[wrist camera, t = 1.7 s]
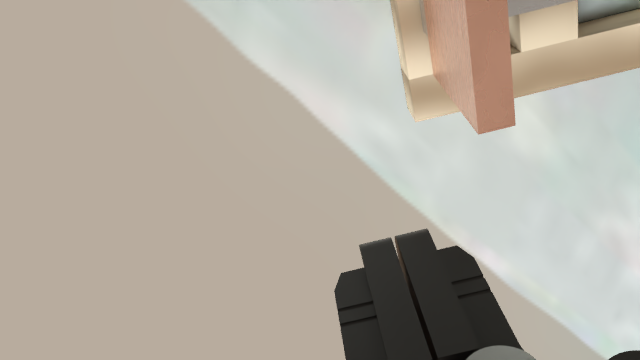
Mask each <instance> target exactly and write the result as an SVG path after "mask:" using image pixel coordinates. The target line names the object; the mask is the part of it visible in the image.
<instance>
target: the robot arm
mask: <svg viewBox="0 0 640 360" xmlns="http://www.w3.org/2000/svg"><path fill="white" fill-rule="evenodd" d="M395 243H396V248H397V253H398V256H397V253H396V250H395V247H394V245H393V242H392V239H391V238H386V239H382V240H378V241H373V242H370V243H365V244H361V245H359V247H360V251H361V255H362V259H363V264H364V268H360V269H356V270H352V271H348V272H344V273H341V275H340V277H339V280H338V283H337V285H336V288H335V291H334V292H335V298H336V303H337V309H338V315H339V321H340V326H341V333H342V339H343V345H344V351H345V356H346V360H536V359H535V358H534V357H533V356H531V355H530V354H528V353H527V352H525V351H524V350H523V349H522V348H521V346H520V344H519V343H518V341H517V339H516V337H515V335H514V333H513V331H512V329H511V327H510V326H509V324H508V322H507V320H506V318H505V316H504V314H503V312H502V310H501V308H500V306H499V305H498V303H497V301H496V299H495V297H494V295H493V293H492V292H491V290H490V287H489V285H488V284H487V282H486V280H485V278H483V274H482V272H481V270H480V268H479V266H478V264H477V262H476V261H475V259H474V257H472V256H471V255H469V254H468V253H467V252H465V251H464V250H462V249H461V248H460V247H458V246H453V247H449V248H445V249H440V250H437V249H436V247H435V244H434V242H433V240H432V237H431V235H430V233H429V231H428V230H427V229H423V230H419V231H415V232H411V233H407V234H402V235H398V236H395ZM398 258H399V259H398ZM609 360H640V351H626V352H623V353H619V354H617V355H615V356H613V357H611V358H610V359H609Z"/></svg>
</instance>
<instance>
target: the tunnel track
mask: <svg viewBox="0 0 640 360" xmlns="http://www.w3.org/2000/svg"><path fill="white" fill-rule="evenodd" d="M390 2H391V8H392V14H393V21H394V27H395V33H396V39H397V45H398V51H399V57H400V63H401V70H402V76H403V82H404V88H405V94H406V100H407V106H408V109H409V111H410V113H411V115H412V116H413V118H414V120H415V122H419V121H423V120H427V119H431V118H435V117H439V116H443V115H448V114H452V113H456V112H460V110H459V108H458V107H457V106H456V105H455V103H454V102H453V101H452V99H451V98H450V97H449V95H448V94H447V93H446V91H445V90H444V89H443V87H442V86H441V85H440V84H439V82H438V81H437V80H436V78H435V77H434V76H433V69H432V62H431V55H430V47H429V40H428V36H427V35H426V34H425V33H424V32H423V27H422V20H421V12H420V5H419V0H390ZM508 18H509V33H510V49H511V64H512V80H513V95H514V98H517V97H521V96H525V95H529V94H533V93H537V92H542V91H546V90H550V89H554V88H558V87H562V86H566V85H570V84H574V83H578V82H582V81H587V80H591V79H595V78H599V77H603V76H607V75H611V74H615V73H619V72H623V71H627V70H632V69H636V68H640V9H636V10H632V11H628V12H624V13H620V14H616V15H612V16H608V17H604V18H600V19H595V20H591V21H587V22H583V23H579V24H578V0H575V1H571V2H567V3H563V4H559V5H555V6H551V7H547V8H543V9H539V10H535V11H531V12H527V13H523V14H519V15H515V16H511V17H508Z"/></svg>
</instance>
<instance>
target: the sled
mask: <svg viewBox="0 0 640 360" xmlns="http://www.w3.org/2000/svg"><path fill="white" fill-rule="evenodd" d="M571 1H575V0H419V5H420V12H421V20H422V27H423V32H424V33H425V34H426V35H427V36H428V40H429V47H430V55H431V62H432V69H433V76H434V77H435V78H436V80H437V81H438V82H439V84H440V85H441V86H442V87H443V89H444V90H445V91H446V93H447V94H448V95H449V97H450V98H451V99H452V101H453V102H454V103H455V105H456V106H457V107H458V108H459V110H460V111H461V112H462V114H463V115H464V116H465V118H466V119H467V120H468V122H469V123H470V124H471V125H472V127H473V128H474V129H475V131H476V132H477V133H478V134H482V133H486V132H490V131H495V130H499V129H503V128H507V127H511V126H515V111H514V95H513V80H512V64H511V49H510V33H509V18H508V17H511V16H515V15H519V14H523V13H527V12H531V11H535V10H539V9H543V8H547V7H551V6H555V5H559V4H563V3H567V2H571Z"/></svg>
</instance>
